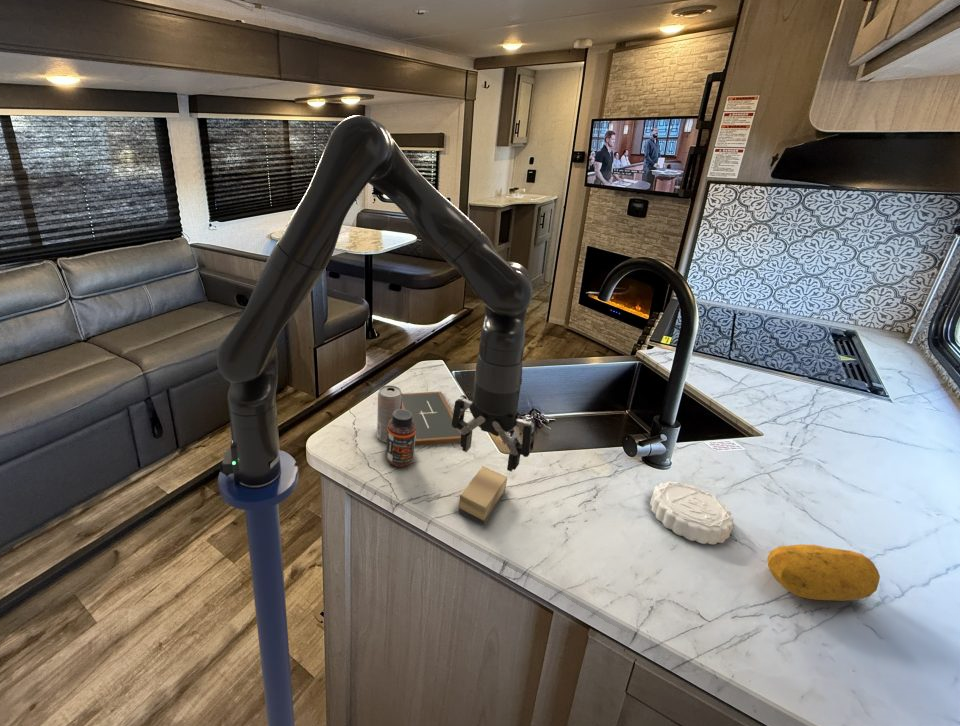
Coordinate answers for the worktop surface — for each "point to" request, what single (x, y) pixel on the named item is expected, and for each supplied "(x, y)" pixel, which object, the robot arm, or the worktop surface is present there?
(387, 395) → the energy drink
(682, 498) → the mooncake
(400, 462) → the supplement bottle
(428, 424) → the chalkboard
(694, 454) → the worktop surface
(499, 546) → the worktop surface
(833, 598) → the potato
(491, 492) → the eraser
